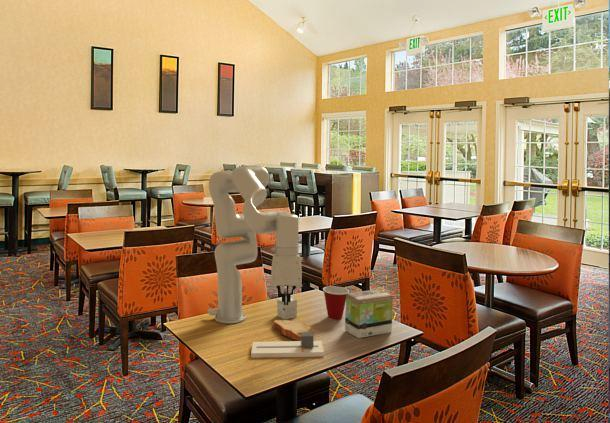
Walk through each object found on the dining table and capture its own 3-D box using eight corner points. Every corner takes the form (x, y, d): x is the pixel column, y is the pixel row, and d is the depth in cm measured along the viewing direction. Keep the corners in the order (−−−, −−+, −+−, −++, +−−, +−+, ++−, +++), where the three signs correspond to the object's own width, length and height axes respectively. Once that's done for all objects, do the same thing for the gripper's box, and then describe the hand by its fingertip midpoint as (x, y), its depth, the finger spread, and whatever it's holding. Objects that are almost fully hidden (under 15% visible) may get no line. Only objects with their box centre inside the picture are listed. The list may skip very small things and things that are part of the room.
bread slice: (274, 323, 200) (274, 314, 199) (318, 326, 196) (318, 317, 196) (261, 339, 182) (261, 330, 182) (310, 343, 179) (310, 333, 178)
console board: (251, 357, 165) (251, 352, 165) (253, 345, 175) (253, 341, 175) (323, 356, 166) (323, 351, 166) (321, 344, 176) (321, 340, 176)
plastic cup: (350, 322, 200) (350, 292, 198) (322, 321, 200) (322, 292, 199) (348, 313, 211) (348, 285, 209) (322, 313, 211) (322, 285, 209)
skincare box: (276, 316, 207) (276, 298, 206) (288, 313, 211) (288, 296, 210) (285, 320, 202) (285, 302, 202) (297, 317, 206) (297, 299, 205)
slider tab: (301, 347, 169) (301, 336, 168) (301, 343, 173) (301, 332, 172) (313, 347, 169) (313, 336, 169) (312, 343, 173) (312, 331, 172)
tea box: (359, 339, 181) (359, 299, 180) (344, 330, 190) (344, 293, 188) (392, 332, 188) (393, 294, 186) (376, 324, 197) (377, 287, 195)
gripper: (263, 253, 163) (263, 307, 165) (309, 253, 163) (308, 307, 166) (264, 248, 170) (264, 300, 173) (308, 248, 171) (307, 300, 174)
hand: (286, 303), depth 169 cm, fingers closed
